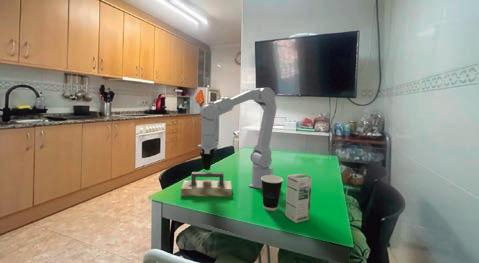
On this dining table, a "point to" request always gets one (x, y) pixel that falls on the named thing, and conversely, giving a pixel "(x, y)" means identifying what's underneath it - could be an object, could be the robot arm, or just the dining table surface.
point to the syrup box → (298, 197)
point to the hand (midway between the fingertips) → (207, 167)
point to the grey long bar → (207, 174)
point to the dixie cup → (271, 191)
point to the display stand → (206, 188)
